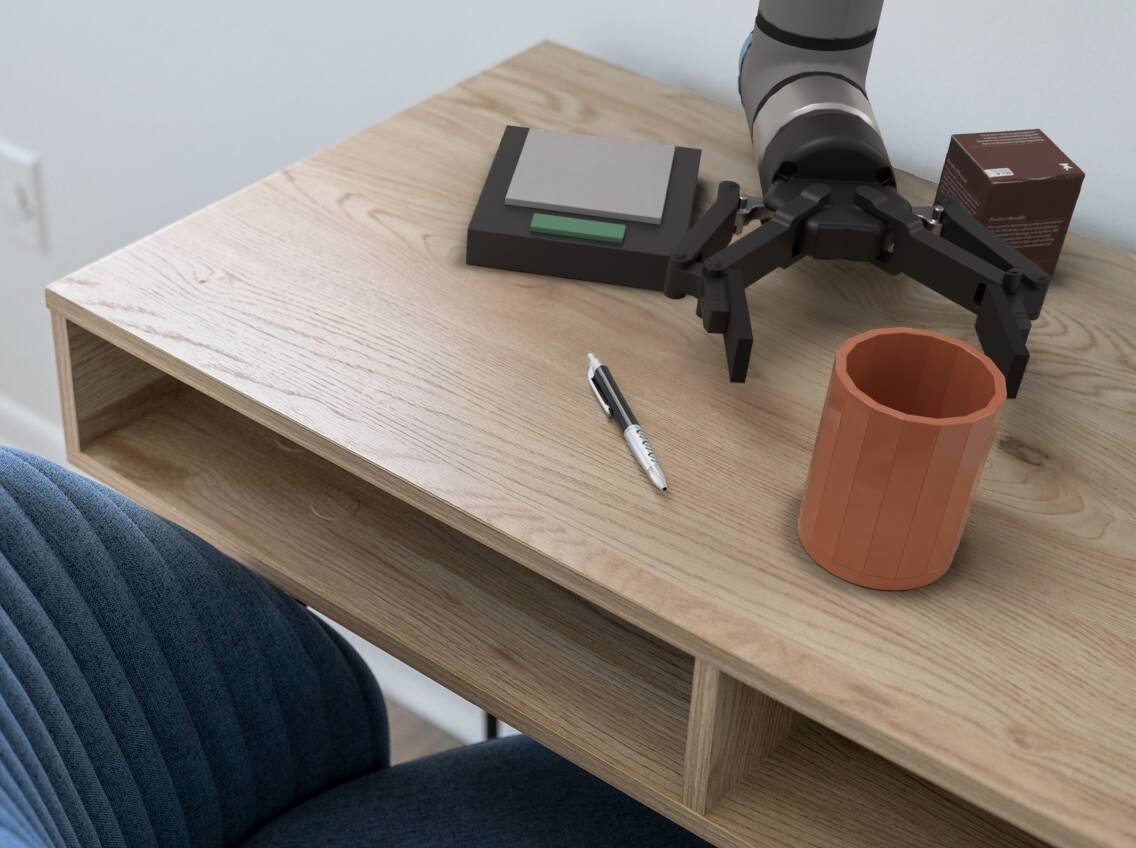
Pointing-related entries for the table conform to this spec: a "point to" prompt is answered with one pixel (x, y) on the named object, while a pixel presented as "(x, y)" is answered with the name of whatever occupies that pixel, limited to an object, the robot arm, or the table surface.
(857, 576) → the cup
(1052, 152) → the box
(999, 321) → the robot arm
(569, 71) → the table surface
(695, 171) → the scale
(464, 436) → the table surface
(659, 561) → the table surface
